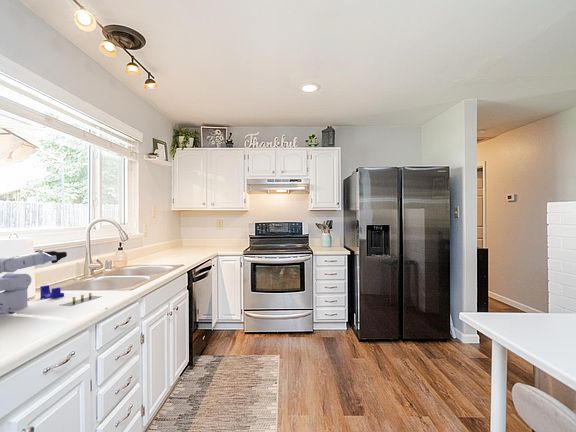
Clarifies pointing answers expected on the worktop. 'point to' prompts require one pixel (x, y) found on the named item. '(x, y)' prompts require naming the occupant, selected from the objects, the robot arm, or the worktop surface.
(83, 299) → the header pins
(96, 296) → the header plate
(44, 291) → the cable clip
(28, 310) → the worktop surface
